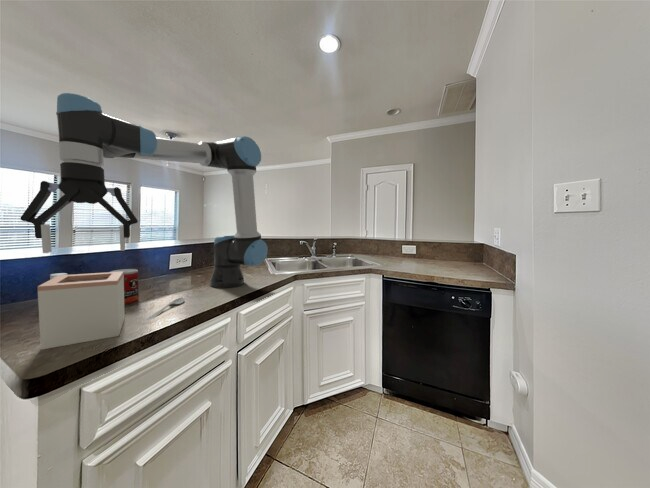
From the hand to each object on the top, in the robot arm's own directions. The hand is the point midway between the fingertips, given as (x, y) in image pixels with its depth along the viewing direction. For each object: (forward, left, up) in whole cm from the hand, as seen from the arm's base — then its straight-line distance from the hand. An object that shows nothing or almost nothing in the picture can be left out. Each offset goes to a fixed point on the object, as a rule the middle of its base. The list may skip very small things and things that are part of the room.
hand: (87, 251), depth 60 cm
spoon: (-16, -9, -21) cm, 28 cm away
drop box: (0, 0, -21) cm, 21 cm away
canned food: (-5, -26, -21) cm, 34 cm away
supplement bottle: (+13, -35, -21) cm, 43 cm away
